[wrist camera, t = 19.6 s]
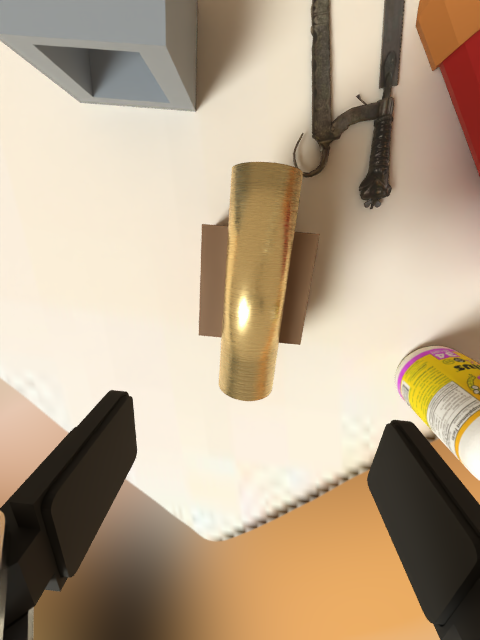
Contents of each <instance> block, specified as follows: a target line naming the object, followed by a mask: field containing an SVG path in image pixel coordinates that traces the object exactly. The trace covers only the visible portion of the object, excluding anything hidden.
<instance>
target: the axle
mask: <svg viewBox="0 0 480 640" xmlns="http://www.w3.org/2000/svg"><path fill="white" fill-rule="evenodd" d="M302 177H303V172H302V171H301V170H299V169H298V168H295V167H292V166H289V165H284V164H278V163H269V162H248V163H241V164H237V165H235V166H233V167H232V176H231V192H230V208H229V225H228V241H227V257H226V274H225V290H224V306H223V322H222V339H221V355H220V371H219V387H220V389H221V390H222V391H223V392H224V393H225V394H226V395H228V396H230V397H232V398H234V399H238V400H243V401H255V400H260V399H263V398H265V397H267V396H268V395H269V394H270V393H271V391H272V385H273V379H274V372H275V365H276V358H277V351H278V344H279V337H280V330H281V323H282V316H283V309H284V302H285V295H286V288H287V281H288V274H289V267H290V260H291V253H292V247H293V240H294V233H295V226H296V219H297V212H298V205H299V198H300V191H301V184H302Z"/></svg>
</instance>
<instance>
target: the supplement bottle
mask: <svg viewBox="0 0 480 640" xmlns="http://www.w3.org/2000/svg"><path fill="white" fill-rule="evenodd" d="M395 386H396V389H397V391H398V393H399V395H400V396H401V397H402V398H403V400H404V401H405V402H406V403H407V404H408V405H409V406H410V407H411V408H412V409H413V411H414V412H415V413H416V414H417V415H418V416H419V417H420V418H421V419H422V420H423V421H424V422H425V423H426V425H427V426H428V427H429V428H430V429H431V430H432V431H433V432H434V433H435V434H436V435H437V436H438V437H439V439H440V440H441V441H442V442H443V443H444V444H445V445H446V446H447V447H448V448H449V449H450V451H451V452H452V453H453V454H454V455H455V456H456V457H457V458H458V459H459V460H460V461H461V463H462V464H463V465H464V466H465V467H466V468H467V469H468V470H469V471H470V472H471V474H473V475H474V476H475V477H476V478H477V479H479V480H480V364H479V363H477V362H476V361H474V360H472V359H470V358H469V357H467V356H465V355H463V354H461V353H460V352H458V351H456V350H454V349H451V348H448V347H444V346H429V347H424V348H421V349H418V350H416V351H414V352H413V353H411V354H410V355H408V356H407V357H406V358H405V359H404V360H403V361H402V362H401V363H400V365H399V367H398V369H397V371H396V374H395Z"/></svg>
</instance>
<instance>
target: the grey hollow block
mask: <svg viewBox="0 0 480 640" xmlns="http://www.w3.org/2000/svg"><path fill="white" fill-rule="evenodd" d="M197 10H198V2H197V0H0V41H2V42H3V43H4V44H5V45H7V46H8V47H9V48H11V49H12V50H13V51H14V52H16V53H17V54H18V55H20V56H21V57H22V58H23V59H25V60H26V61H27V62H29V63H30V64H31V65H33V66H34V67H35V68H36V69H38V70H39V71H40V72H42V73H43V74H44V75H45V76H47V77H48V78H49V79H51V80H52V81H53V82H54V83H56V84H57V85H58V86H60V87H61V88H62V89H64V90H65V91H66V92H67V93H69V94H70V95H71V96H73V97H74V98H75V99H76V100H78V101H79V102H80V103H93V104H106V105H119V106H132V107H145V108H158V109H171V110H184V111H196V64H197Z"/></svg>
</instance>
